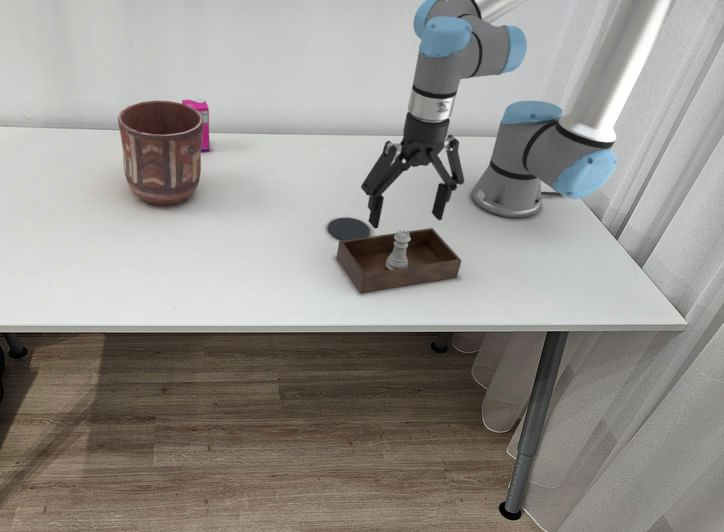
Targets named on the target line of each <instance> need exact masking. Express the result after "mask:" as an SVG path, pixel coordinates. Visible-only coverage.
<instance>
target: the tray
mask: <svg viewBox="0 0 724 532" xmlns="http://www.w3.org/2000/svg"><path fill="white" fill-rule="evenodd" d="M407 232H409V234H410V238H411V240H410V241H409V242H408V247H407V248H406V257H407V260H408V265H407V266H408V267H406V268H400V269H393V270H389V269H388V268H387V267H386V261H387V258H388V256H390V254H391V253H392V252H393V249H394V242H395V241H396V240H395V238H394V236H395V235H396V234H397V232H394V233H387V234H379V235H373V236H368V237H365V238H358V239H351V240H344V241H342V240H339V241H338V246H337V252H336V257H335V258H336V260H337V262H338V264H339V265H340V266H341V267H342V269H343V271H344V272H345V273H346V275H347V277H348V278H349V280H350V281H351V282H352V284H353V285H354V286H355V288H356V289H357V291H358V293H359V294H361V295H362V294H367V293H373V292H374V293H375V292H379V291H386V290H392V289H398V288H404V287H405V288H406V287H410V286H416V285H422V284H427V283H428V284H429V283H433V282H434V283H435V282H440V281H447V280H452V279H457V278H458V276H459V272H460V268H461V264H462V259H461V258H460V257H459V256H458V254H456V253H455V251H454V250H453V249H452V248H451V246H449V245H448V244H447V243H446V242H445V240H444V239H443V238H442V236H440V234H438V232H437V231H436V230H435V229H434V228H433V227H429V228H428V227H427V228H421V229H415V230H408V231H407V230H406V232H405V233H407Z"/></svg>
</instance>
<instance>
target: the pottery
mask: <svg viewBox="0 0 724 532" xmlns="http://www.w3.org/2000/svg"><path fill="white" fill-rule="evenodd" d="M117 125H118V128H119V136H120V140H121V148H122V161H123V170H124V171H123V172H124V176H125V179H126V182H127V186H128V187H129V188H130V190H131V191H132V193H133V194H134V195H136V196H137V197H138V198H140V199H141V200H142V201H144V202H145V203H147V204H149V205H152V206H159V207H162V206H163V207H169V206H176V205H180V204H182V203H183V202H185V201H186V200H188V199H189V198H190V197H191V196H192V195H193V194H194V193H195V192H196V190H197V188H198V186H199V183H200V178H201V172H202V159H201V158H202V154H201V153H202V152H201V137H202V129H203V117H202V116H201V114H200V112H198V111H197V110H195V109H194V108H192V107H190V106H187V105H184V104H182V102H181V103H180V102H177V101H176V102H175V101H170V100H149V101H141V102H138V103H135V104H131V105H129V106H127V107H125V108H124V109H122V110H121V111H120V112H119V114H118V116H117Z"/></svg>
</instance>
